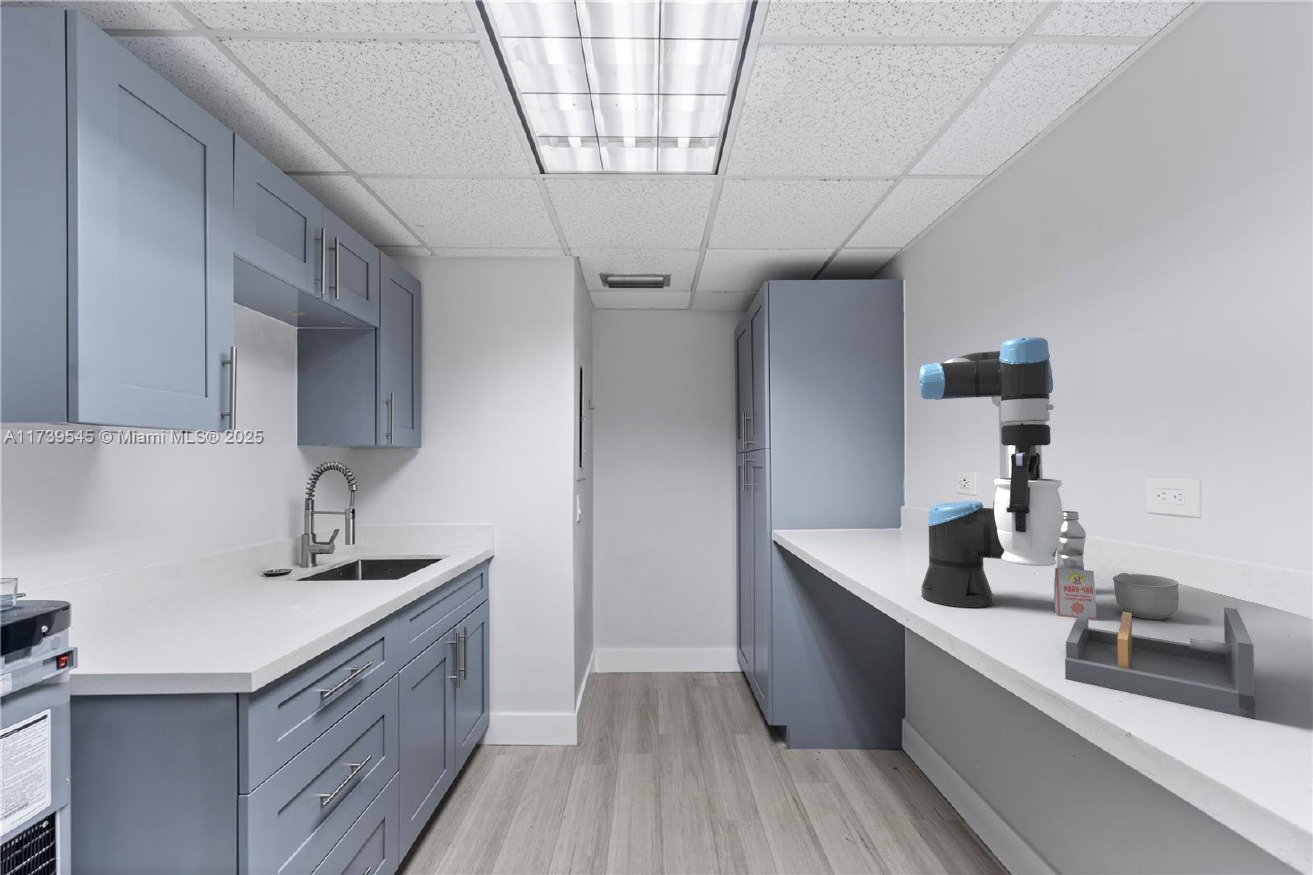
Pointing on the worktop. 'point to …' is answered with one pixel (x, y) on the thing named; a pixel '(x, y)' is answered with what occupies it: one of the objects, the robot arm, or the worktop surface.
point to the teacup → (1146, 595)
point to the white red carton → (1074, 593)
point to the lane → (1170, 666)
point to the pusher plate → (1125, 641)
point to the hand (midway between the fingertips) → (1027, 546)
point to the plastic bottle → (1071, 542)
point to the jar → (1043, 522)
